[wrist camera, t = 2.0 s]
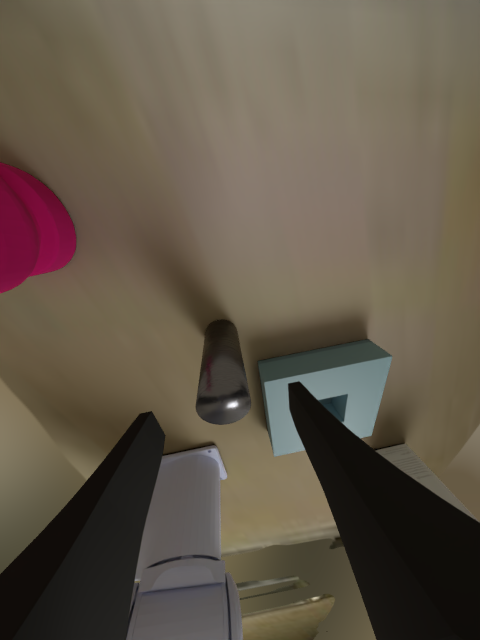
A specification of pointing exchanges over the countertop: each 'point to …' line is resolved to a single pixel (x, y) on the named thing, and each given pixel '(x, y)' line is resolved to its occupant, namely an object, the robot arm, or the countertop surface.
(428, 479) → the skincare box
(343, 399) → the socket block
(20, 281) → the pepper mill
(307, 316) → the countertop surface
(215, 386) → the metal peg
